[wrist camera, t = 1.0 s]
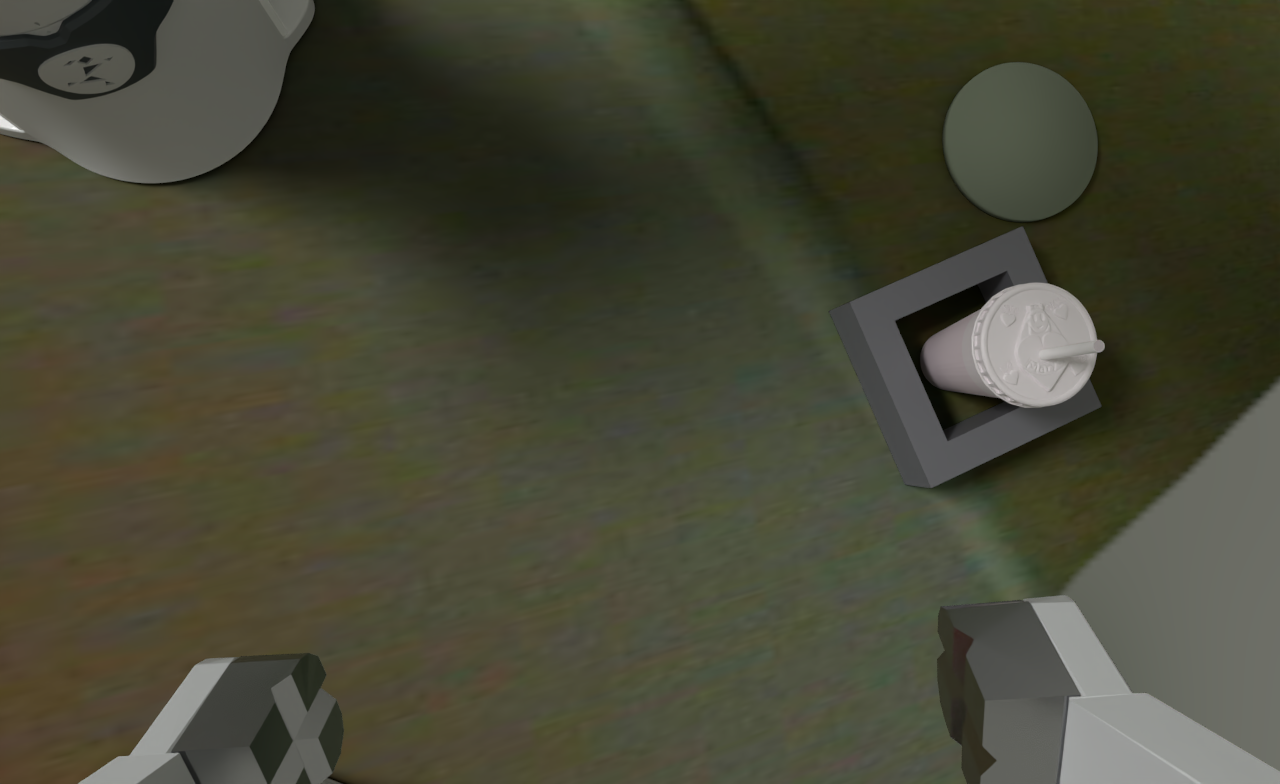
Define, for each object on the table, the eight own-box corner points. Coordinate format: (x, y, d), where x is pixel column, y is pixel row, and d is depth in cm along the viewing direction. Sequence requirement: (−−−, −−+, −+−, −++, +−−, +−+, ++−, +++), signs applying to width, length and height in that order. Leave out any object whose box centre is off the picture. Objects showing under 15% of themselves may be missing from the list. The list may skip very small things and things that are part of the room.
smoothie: (907, 419, 51) (1042, 414, 38) (891, 316, 52) (1019, 272, 38) (1005, 404, 52) (1172, 393, 38) (988, 302, 52) (1149, 255, 39)
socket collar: (828, 311, 51) (849, 302, 48) (990, 239, 53) (1022, 226, 49) (904, 484, 51) (931, 488, 48) (1064, 408, 53) (1101, 406, 49)
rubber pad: (917, 99, 53) (921, 95, 52) (1053, 43, 54) (1058, 39, 53) (981, 246, 53) (986, 244, 52) (1115, 187, 54) (1122, 184, 53)
